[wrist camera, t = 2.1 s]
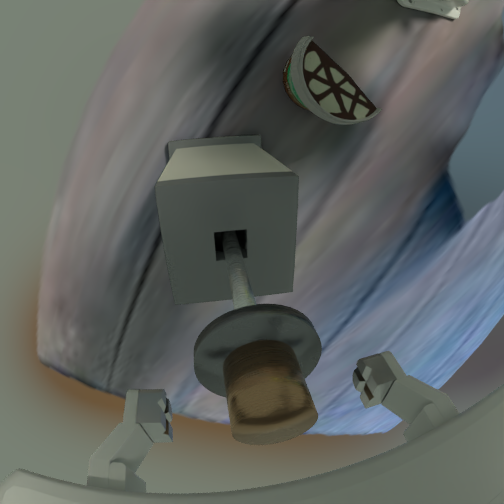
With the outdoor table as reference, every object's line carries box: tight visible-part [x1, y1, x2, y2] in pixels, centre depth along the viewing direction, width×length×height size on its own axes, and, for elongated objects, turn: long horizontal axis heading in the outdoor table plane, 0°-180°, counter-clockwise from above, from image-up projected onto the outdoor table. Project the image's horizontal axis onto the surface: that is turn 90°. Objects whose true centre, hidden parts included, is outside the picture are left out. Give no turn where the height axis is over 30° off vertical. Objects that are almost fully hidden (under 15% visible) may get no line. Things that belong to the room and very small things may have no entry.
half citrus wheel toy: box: [283, 36, 382, 125], centre depth 30 cm, size 12×6×10 cm, turn 50°
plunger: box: [194, 230, 322, 445], centre depth 17 cm, size 7×7×19 cm
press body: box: [155, 135, 299, 305], centre depth 30 cm, size 12×12×20 cm
